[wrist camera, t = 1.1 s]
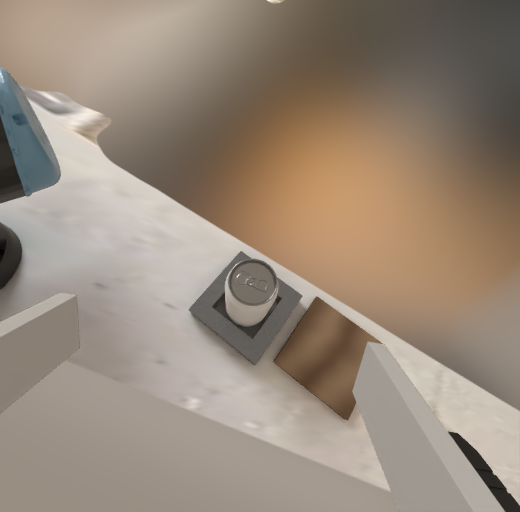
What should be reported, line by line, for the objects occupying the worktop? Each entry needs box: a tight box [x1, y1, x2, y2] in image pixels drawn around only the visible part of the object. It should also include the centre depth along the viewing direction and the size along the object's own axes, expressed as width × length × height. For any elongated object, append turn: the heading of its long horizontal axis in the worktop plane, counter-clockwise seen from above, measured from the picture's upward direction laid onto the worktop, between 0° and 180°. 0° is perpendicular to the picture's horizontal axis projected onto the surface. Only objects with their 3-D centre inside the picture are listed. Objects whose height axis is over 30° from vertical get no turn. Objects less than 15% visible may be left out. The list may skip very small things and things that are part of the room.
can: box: [225, 259, 278, 327], centre depth 33 cm, size 6×6×12 cm
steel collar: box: [189, 251, 302, 365], centre depth 38 cm, size 12×12×2 cm
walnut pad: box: [274, 297, 382, 420], centre depth 37 cm, size 12×12×1 cm
